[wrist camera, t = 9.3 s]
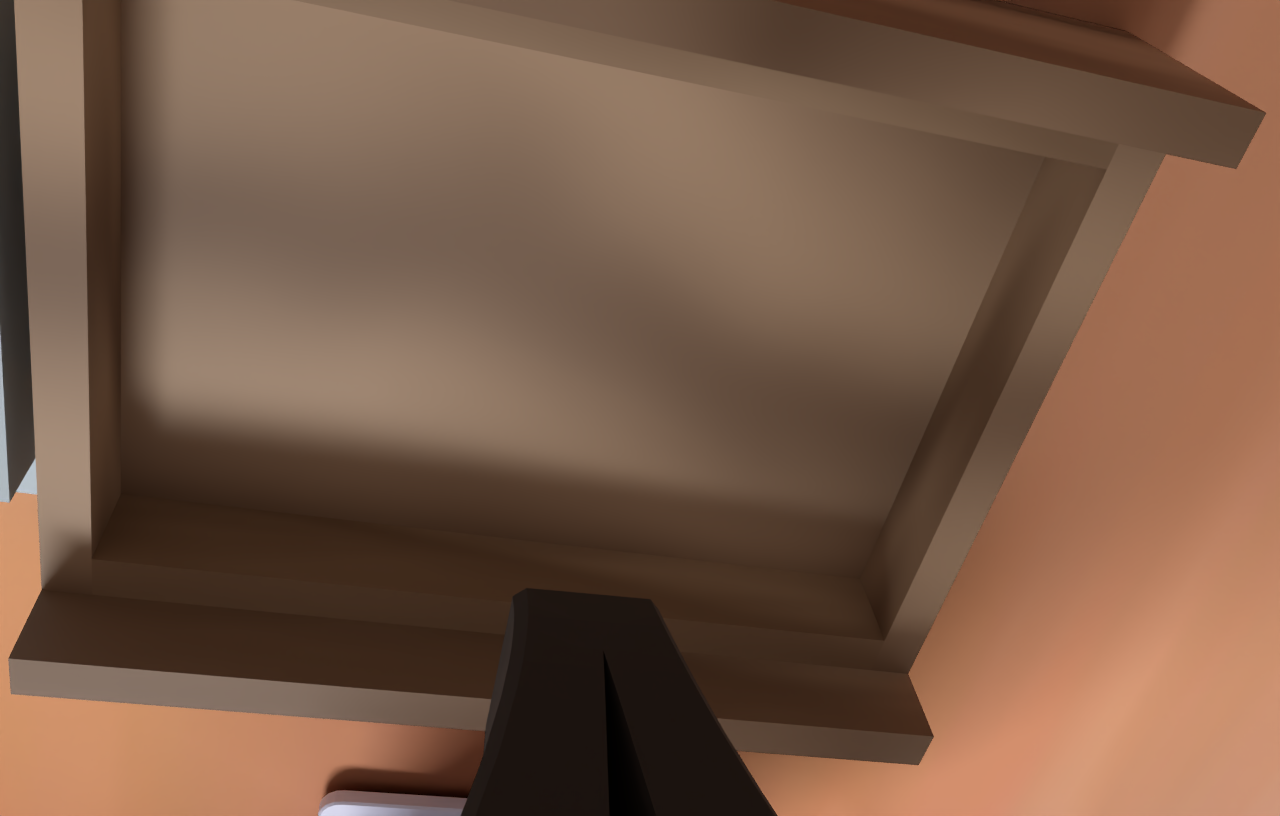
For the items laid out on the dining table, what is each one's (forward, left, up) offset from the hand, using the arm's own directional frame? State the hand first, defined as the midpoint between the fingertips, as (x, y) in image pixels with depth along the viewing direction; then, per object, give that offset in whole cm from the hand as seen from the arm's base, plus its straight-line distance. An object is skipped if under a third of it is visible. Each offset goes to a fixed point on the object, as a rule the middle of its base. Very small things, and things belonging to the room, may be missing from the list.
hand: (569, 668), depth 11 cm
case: (-1, -1, -10) cm, 10 cm away
